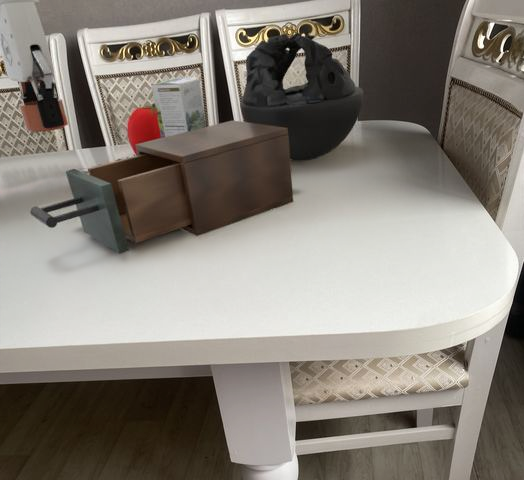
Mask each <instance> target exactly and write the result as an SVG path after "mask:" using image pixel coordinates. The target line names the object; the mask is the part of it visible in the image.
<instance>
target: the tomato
mask: <svg viewBox="0 0 524 480" xmlns="http://www.w3.org/2000/svg"><path fill="white" fill-rule="evenodd" d="M134 108H136V109H134V110H133V111H132V113H131V114H130V116H129V118H128V121H127V125H126V127H127V129H126V133H127V138H128V143H129V145H130V147H131V149H132V151H133V153H134V155H135V156H138V155H137V150H136V146H135V145H136V144H140V143H144V142H148V141H152V140H156V139H160V138H161V134H160V128H159V123H158V118H157V112H156V107H155V103H152V104H151V106H150V105H145V104H144V106H142V107H141V106H138V107H137V105H136V106H134Z"/></svg>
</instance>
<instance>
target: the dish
mask: <svg viewBox="0 0 524 480" xmlns="http://www.w3.org/2000/svg"><path fill="white" fill-rule="evenodd" d="M58 102H59V105H60V109H61V113H62V117H63V120H64V125H63V126H58V127H53V128H44V127H43V124H42V120H41V117H40V113H39V110H38V106H37V103H36V101H31V102H26V103H24V102H22V103H19V104H18V107H19V110H20V113H21V117H22V120H23V123H24V126H25V130H26V131H29V132H32V133H44V132H51V131H57V130H60V129H63V128H65V127H66V126H69V122H68V121H69V120H68V117H67V114H66V110H65V106H64V102H63V99H62V98H58Z"/></svg>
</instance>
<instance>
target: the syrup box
mask: <svg viewBox="0 0 524 480" xmlns="http://www.w3.org/2000/svg"><path fill="white" fill-rule="evenodd" d="M151 91H152V97H153V102H154V104H155V107H156V112H157V118H158V123H159V128H160V134H161V138H164V137H168V136H172V135H176V134H180V133H184V132H188V131H192V130H196V129H200V128H204V127H207V124H206V117H205V110H204V102H203V97H202V96H203V95H202V88H201V81H200V78H198V77H190V76H189V77H187V76H185V77H184V76H182V77H181V76H180V77H174V78H170V79H167V80H164V81H161V82H160V81H159V82H157V83H154V84H151Z"/></svg>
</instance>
